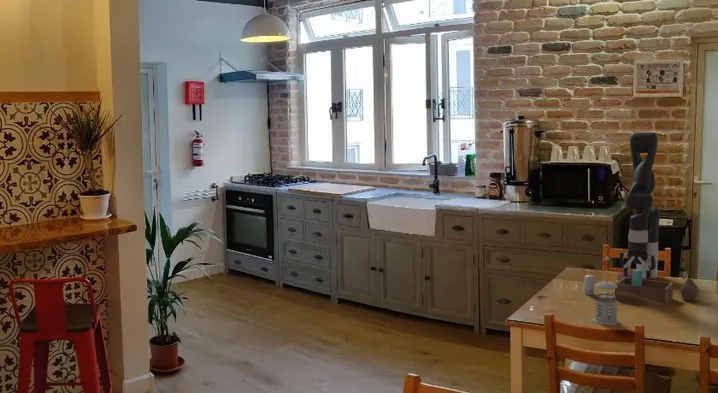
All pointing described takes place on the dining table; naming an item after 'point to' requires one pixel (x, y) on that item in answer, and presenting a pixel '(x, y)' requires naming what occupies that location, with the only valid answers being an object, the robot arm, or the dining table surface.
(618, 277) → the cupcake
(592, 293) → the grey peg
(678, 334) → the dining table surface
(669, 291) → the peg box
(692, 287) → the vase
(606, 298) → the french press
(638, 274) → the teal peg
